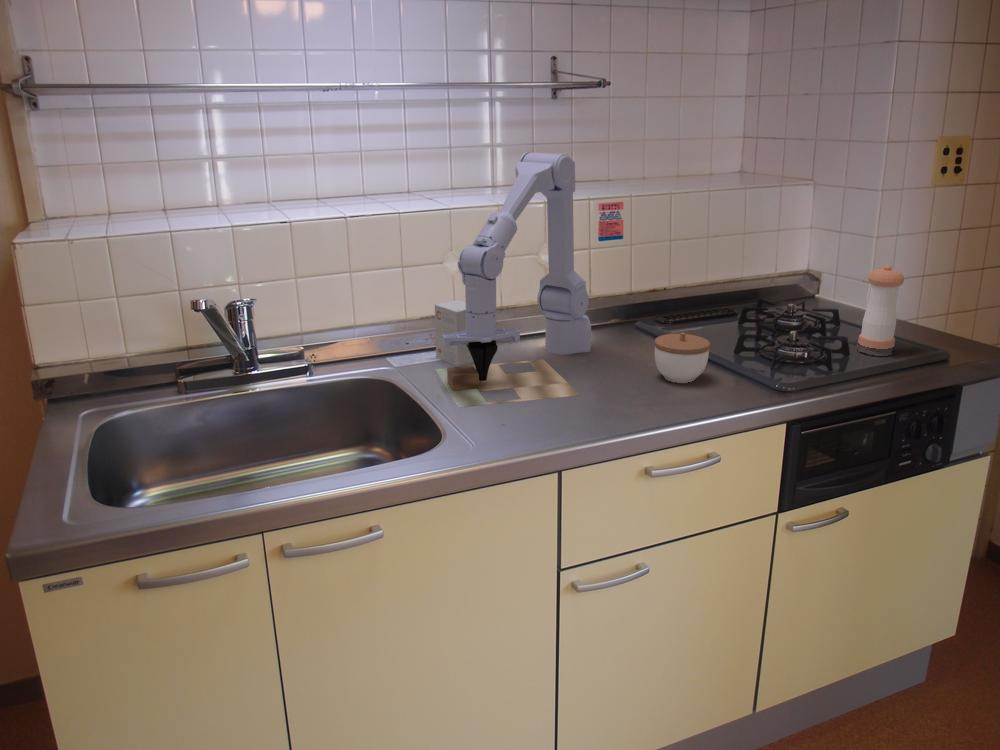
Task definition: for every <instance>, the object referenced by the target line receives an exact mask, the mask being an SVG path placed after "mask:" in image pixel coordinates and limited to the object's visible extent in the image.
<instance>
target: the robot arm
mask: <svg viewBox="0 0 1000 750" xmlns="http://www.w3.org/2000/svg"><path fill="white" fill-rule="evenodd" d="M575 192H576V162H575V161H574V160H573V159H572V158H571V156H570V155H569V154H568V153H563V152H562V153H551V152H550V153H549V152H532V151H524V152H523V154H522V155H521V156H520V158H519V160H518V162H517V163H516V165H515V180H514V182H513V184H512V186H511V188H510V189H509V192H508V194H507V196H506V198H505V200H504V202H503V205H502V206H501V208H500V210H499V211H498V212H497V211H496V212H493V213H491V214H490V215H489V217H488V218H487V220H486V222H485V224H484V225H483V226H482V228H481V230H480V232H479V233H478V235H477V237H476V238H475V240H474V242H473V243H472V244H469V245H467V246H466V247H465V248H464V249H462V250H461V252H460V255H459V259H458V261H457V269H458V271H459V273H460V275H461V278H462V283H463V285H464V286H465V287H464V288H465V292H464V293H465V294H464V295H465V296H464V297H465V302H466V331H462V332H457V333H452V334H444V335H443V345H444V347H450V346H453V345H465V344H466V345H467V348H468V349H469V352H470V354H471V356H472V358H473V361H474V362H473V364H474V366H475V367H476V371H477V372H478V373H479V381H486V380H487V374H488V370H489V367H490V364H492V361H493V359H494V357H495V355H496V354H497V352H498V344H497V343H499V342H510V341H513V342H520V340H521V331H520V330H519V329H518V328H497V277H499V275H500V274H501V273H502V271H503V269H504V268H503V267H504V260H505V257H506V252H505V251H506V250H507V249H508V247H509V245H510V243H511V241H512V240H513V238H514V236H515V234H516V233H517V231H518V224H517V222H516V221H517V220H518V218H519V217H520V215H522V213H523V212H524V210H525V208H526V207H527V206H528V204H529V203H530V201H531V200H532V199H533V197H534V196H535V195H536V194H537V193H541V194H542V195H543V196H544V197H545V198H546V211H547V213H546V214H547V245H548V246H547V249H548V250H547V251H548V253H547V254H548V257H547V258H548V259H547V260H548V273H547V274H545V275H544V276H543V277H541V279H540V280H539V290H538V293H537V301H536V302H537V306H538V308H539V310H540V311H542V316H544V317H545V339H544V340H545V342H544V343H545V351H546V352H547V353H548V354H552V355H559V356H560V355H561V356H565V355H573V354H579V353H581V354H582V353H590V352H591V349H592V325H591V320H590V318H589V316H588V315H587V314H585V313H586V312H587V310H588V308H589V300H590V298H589V294H588V292H587V284H586V283H587V281H586V280H585V279H584V278H583V276H582V277H581V275H580V274H578V273H577V272H576V271H575V254H574V253H575V252H574V251H575V249H574V247H575V246H574V245H575V242H574V237H575V236H574V193H575Z"/></svg>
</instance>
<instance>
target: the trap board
mask: <svg viewBox="0 0 1000 750" xmlns="http://www.w3.org/2000/svg"><path fill="white" fill-rule="evenodd" d="M527 363H528V364H529V365H531V367H533V368H534V371H526V372H517V373H506V372H505V371H504V370H503V368H501V366H505V365H513V364H514V365H516V364H517V365H518V364H527ZM473 367H474V368H475V369H476V367H475V365H473ZM447 368H448V367H444V368H434V370H435V372H436V374H437V375H438V377H439V379H440V380H441V382H442V384H443V385H444V388H446V391H447V392H448V393H449V395H450V397H451V398H452V400H453V402H454V403H455V405H456V407H457V408H458V409H460V408H471V407H480V406H490V405H497V404H508V403H519V402H531V401H535V400H536V401H538V400H548V399H549V400H550V399H555V398H556V399H557V398H567V397H578V396H579V397H580V396H581V395H580V394H579V393H578V391H577V390H576V389H575V388H573V387H572V386H571V385H570V383H568V382H567V380H565V379H564V377H562V376H561V375H560V374H559V373H558V372H557V371H556V370H555V369H554V368H553V366H551V365H550V364H549V363H548V362H547V361H545V359H533V360H531V359H530V360H524V361H523V360H522V361H512V362H500V363H498V362H497V363H491V364H490V367H489V370H488V374H487V380H486V381H479V389H469V390H458V391H453V390H452V389H451V387H450V385H449V384H448V380H447ZM510 389H512V390H513V391H514V392H515V393H516V394H517V396H518V397H519V398H518V399H517V398H516V399H509V400H507V399H506V400H501V401H489V402H487V401H486V400H485V398H484V396H483V395H482V394H481V392H489V391H490V392H491V391H499V390H510Z"/></svg>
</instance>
